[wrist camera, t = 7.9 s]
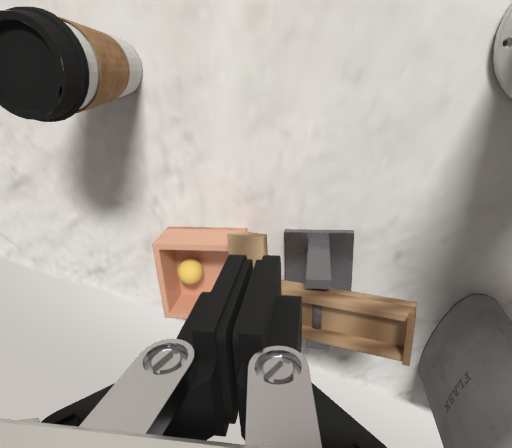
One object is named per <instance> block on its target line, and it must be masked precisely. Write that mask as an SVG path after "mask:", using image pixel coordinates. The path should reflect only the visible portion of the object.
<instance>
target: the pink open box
mask: <svg viewBox="0 0 512 448" xmlns="http://www.w3.org/2000/svg"><path fill="white" fill-rule="evenodd" d="M231 230H233V231H242V232H247V228H203V227H168V228H167V229H166V230H165V231H164V232H163V233H162V234H161V235H160V236H159V237H158V238H157V239H156V240H155V241H154V242H153V243H152V246H153V252H154V258H155V263H156V269H157V275H158V281H159V286H160V292H161V298H162V304H163V310H164V315H165V318H182V319H187V318H188V316H189V314H190V312H191V310H192V309H193V307H194V305H195V303H196V301H197V299H198V297H199V295H200V294H201V293H202V292H211V290H212V288H213V286H214V284H215V282H216V280H217V278H218V276H219V274H220V272H221V270H222V268H223V266H224V264H225V262H226V259H227V257H228V256H229V252H228V241H227V233H229V232H230V231H231ZM186 259H195V260H197V261H199V262H200V263H201V265H202V267H203V276H202V278H201V279H200V281H198V282H197V283H195V284H185V283H183V282H182V281H181V280H180V279H179V277H178V272H177V271H178V267H179V265H180V264H181V263H182V262H183V261H184V260H186Z"/></svg>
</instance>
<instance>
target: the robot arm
mask: <svg viewBox="0 0 512 448" xmlns="http://www.w3.org/2000/svg"><path fill="white" fill-rule="evenodd" d="M503 41H506V45H505V46H503ZM493 64H494V69H495V75H496V77H497V79H498V82H499V84H500V86H501V88H502V89H503V90H504V92H505V93H506V94H507V96H509V97H510V98H511V99H512V4H511V5H510V7H509V9H508V10H507V12H506V14H505V15H504V17H503V19H502V21H501V24H500V26H499V29H498V31H497V34H496V39H495V43H494V49H493ZM301 343H302V296H290V295H282V290H281V260H280V256H269V255H263V257H262V260H256V262H255V265H254V268H253V261H252V259H247V256H246V255H231V254H229V256H228V257H227V259H226V262H225V264H224V266H223V268H222V270H221V272H220V274H219V276H218V278H217V280H216V282H215V284H214V286H213V288H212V290H211V292H202V293H201V294H200V295H199V297H198V299H197V301H196V303H195V305H194V307H193V309H192V310H191V312H190V314H189V316H188V318H187V320H186V322H185V324H184V325H183V327H182V329H181V331H180V333H179V335H178V337H177V339H166V340H162V341H159V342H156V343H154V344H152V345H150V346H149V347H147V348H146V349H145V350H144V351H142V353H140V355H139V356H138V357H137V358H136V359H135V361H134V362H133V363H132V364H131V365H130V367H129V368H128V369H127V370H126V371H125V372H124V374H123V375H122V376H121V377H120V378H119V380H118V381H117V382H116V383H115V384H112V385H110V386H108V387H106V388H105V389H102V390H100V391H98V392H96V393H94V394H92V395H90V396H88V397H86V398H84V399H81V400H79V401H78V402H75V403H73V404H71V405H69V406H67V407H65V408H63V409H61V410H59V411H56V412H55V413H53V414H52V415H50V416H48V417H47V418H45V419H44V420H43V421H42V422H41V423H40V421H39V418H34V419H24V420H9V419H0V448H387V447H386V446H385V445H384V444H383V443H381V442H380V441H379V440H378V439H377V438H375V437H374V436H373V435H372V434H371V433H370V432H368V431H367V430H366V429H365V428H364V427H363V426H361V425H360V424H359V423H358V422H357V421H355V419H353V418H352V417H351V416H350V415H349V414H347V413H346V412H345V411H344V410H343V409H342V408H341V407H339V406H338V405H337V404H336V403H335V402H334V401H332V400H331V399H330V398H329V397H328V396H327V395H325V394H324V393H323V392H322V391H321V390H320V389H318V388H317V387H316V386H315V385H314V384H313V383H311V378H310V373H309V366H308V363H307V360H306V358H305V357H304V356H303V355H302V354H301ZM238 411H239V418H240V425H241V436H242V437H243V438H244V440H245V445H240V444H231V443H223V442H214V441H207V439H209V438H210V437H212V436H214V435H216V436H226V433H227V430H228V426H229V423H231V424H235V423H236V419H237V415H238Z"/></svg>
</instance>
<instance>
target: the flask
mask: <svg viewBox="0 0 512 448" xmlns="http://www.w3.org/2000/svg"><path fill="white" fill-rule="evenodd" d="M419 372H420V376H421V379H422V382H423V385H424V388H425V391H426V394H427V397H428V400H429V403H430V406H431V410H432V413H433V416H434V419H435V422H436V425H437V428H438V431H439V434H440V437H441V440H442V443H443V446H444V448H512V321H511V320H510V318H509V317H508V316H507V314H506V313H505V312H504V310H503V309H502V308H501V306H500V305H499V304H498V303H497V301H496V300H495V299H493V298H491V297H489V296H487V295H480V294H477V295H472V296H468V297H467V298H465V299H463V300H461V301H460V302H458V303H457V304H456V305H455V306H454V307H453V308H452V309H451V310H450V311H449V312H448V313H447V314H446V316H445V317H444V318H443V319H442V320H441V322H440V323H439V325H438V326H437V327H436V329H435V330H434V332H433V334H432V335H431V337H430V339H429V341H428V343H427V345H426V347H425V349H424V352H423V355H422V357H421V361H420V365H419Z"/></svg>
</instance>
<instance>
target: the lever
mask: <svg viewBox="0 0 512 448" xmlns="http://www.w3.org/2000/svg"><path fill="white" fill-rule="evenodd" d="M227 241H228V252H229V254H231V255H246V256H247V259H252V261H253V268H254V265H255V262H256V260H262V257H263V255H268V254H267V235H266V234H258V233H250V232H242V231H233V230H231V231H230V232H229V233H227ZM281 290H282V295H290V296H302V339H305V340H310V341H314V342H319V343H323V344H328V345H332V346H336V347H341V348H345V349H350V350H354V351H358V352H363V353H367V354H372V355H376V356H381V357H385V358H389V359H394V360H398V361H403V362H402V364H403V365H407V366H409V365H410V358H411V350H412V343H413V335H414V327H415V319H416V302H411V301H405V300H399V299H393V298H387V297H381V296H375V295H370V294H364V293H358V292H352V291H346V290H340V289H334V288H331V289H309V288H306V284H304V283H298V282H292V281H286V280H281Z"/></svg>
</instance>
